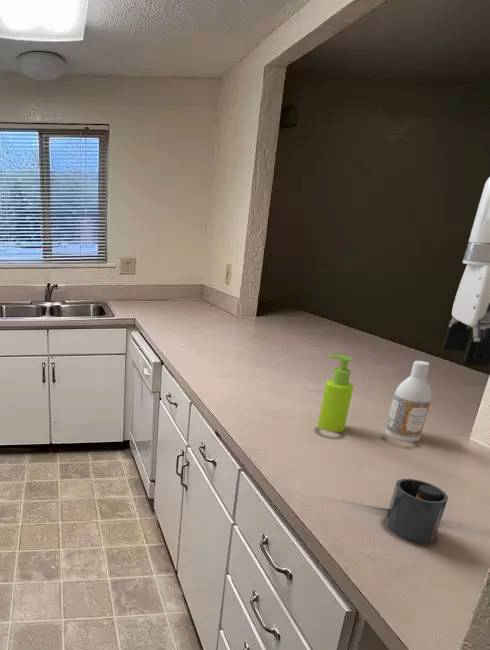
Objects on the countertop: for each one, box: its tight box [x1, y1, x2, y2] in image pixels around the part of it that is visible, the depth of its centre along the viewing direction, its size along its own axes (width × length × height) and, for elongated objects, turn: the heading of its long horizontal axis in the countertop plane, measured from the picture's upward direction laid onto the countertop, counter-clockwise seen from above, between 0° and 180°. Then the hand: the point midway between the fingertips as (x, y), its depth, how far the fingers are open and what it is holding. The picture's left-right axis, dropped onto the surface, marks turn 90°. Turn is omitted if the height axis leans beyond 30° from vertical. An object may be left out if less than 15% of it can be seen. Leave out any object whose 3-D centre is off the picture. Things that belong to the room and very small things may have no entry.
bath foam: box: [384, 360, 432, 443], centre depth 103 cm, size 7×7×20 cm
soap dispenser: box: [317, 353, 355, 433], centre depth 107 cm, size 6×7×20 cm
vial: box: [416, 485, 442, 501], centre depth 73 cm, size 8×3×3 cm
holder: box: [385, 478, 449, 544], centre depth 74 cm, size 7×7×8 cm
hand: (463, 356), depth 75 cm, fingers open, 9 cm apart
